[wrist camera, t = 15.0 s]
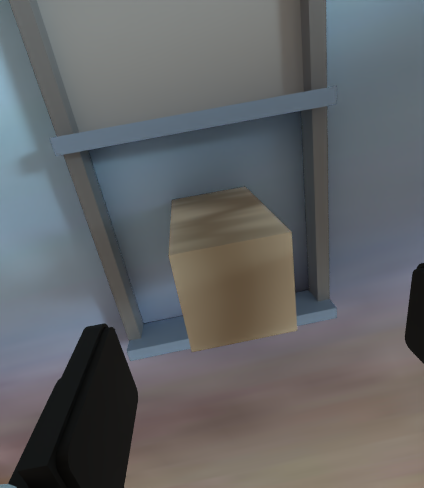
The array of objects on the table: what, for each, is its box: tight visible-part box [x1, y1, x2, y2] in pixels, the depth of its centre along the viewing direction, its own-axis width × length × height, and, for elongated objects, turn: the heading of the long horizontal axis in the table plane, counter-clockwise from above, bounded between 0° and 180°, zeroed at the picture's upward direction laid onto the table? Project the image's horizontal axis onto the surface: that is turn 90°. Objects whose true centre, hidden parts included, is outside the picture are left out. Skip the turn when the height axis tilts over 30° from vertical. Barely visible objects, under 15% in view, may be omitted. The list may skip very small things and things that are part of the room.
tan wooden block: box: [168, 186, 297, 352], centre depth 15 cm, size 4×4×8 cm
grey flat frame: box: [9, 0, 337, 361], centre depth 14 cm, size 14×34×2 cm, turn 10°
